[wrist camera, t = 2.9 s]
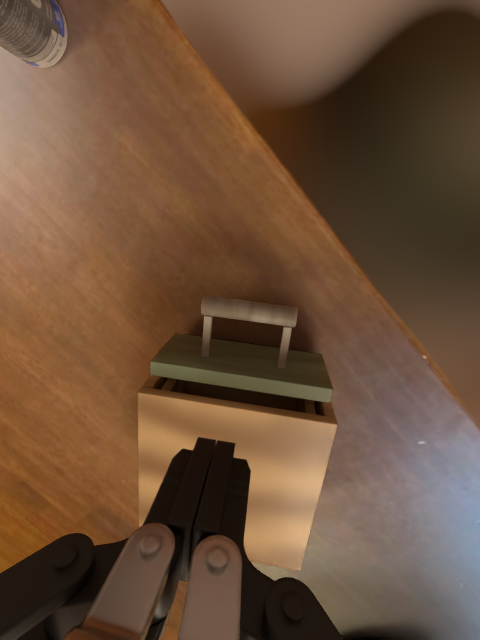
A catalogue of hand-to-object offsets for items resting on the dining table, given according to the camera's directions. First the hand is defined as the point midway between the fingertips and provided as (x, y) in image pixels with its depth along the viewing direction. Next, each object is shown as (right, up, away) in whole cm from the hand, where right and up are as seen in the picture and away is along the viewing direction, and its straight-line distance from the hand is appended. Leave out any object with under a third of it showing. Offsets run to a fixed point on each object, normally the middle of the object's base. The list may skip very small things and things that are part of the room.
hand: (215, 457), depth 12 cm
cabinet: (+1, -6, +19) cm, 20 cm away
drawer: (+1, -1, +17) cm, 17 cm away
